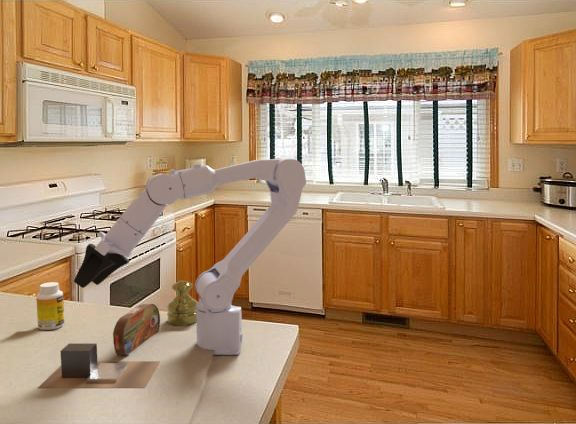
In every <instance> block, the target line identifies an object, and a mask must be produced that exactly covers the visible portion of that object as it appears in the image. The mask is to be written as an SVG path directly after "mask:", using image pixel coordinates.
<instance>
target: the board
mask: <svg viewBox="0 0 576 424" xmlns="http://www.w3.org/2000/svg"><path fill="white" fill-rule="evenodd" d="M97 362H98V366H99V364H100V363H128V367H127V368H126V369H125V371H124V372H123V374H122V375H121V376H120V378H119V379H118V380H117V382H87V378H62V370H61V365H60V366H59V367H57V369H56V370H55V371H54V372H52V373H51V374H50V375H49V376H48V377H47V378H46V379H45V380H44V381H43V382H42V383H41V384H40V385H39V386H38V387H37V389H145V388H146V387H147V385H148V383H149V381H151V379H152V376H153V375H154V374H155V372H156V369H157V368H158V366H159V365H160V363H161V361H158V360H157V361H156V360H154V361H153V360H151V361H150V360H149V361H148V360H146V361H145V360H144V361H143V360H142V361H139V360H138V361H135V360H134V361H133V360H131V361H129V360H127V361H126V360H125V361H124V360H123V361H120V360H117V361H116V360H115V361H114V360H112V361H111V360H110V361H107V360H105V361H103V360H99V361H98V360H97Z"/></svg>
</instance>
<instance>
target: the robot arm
mask: <svg viewBox="0 0 576 424" xmlns="http://www.w3.org/2000/svg"><path fill="white" fill-rule="evenodd" d="M192 166H193V167H189V168H185V169H180V170H179V169H178V170H176V169H174V168H172V169H169V174H167V173H158V174H155V175H153V176H152V177H150V178H148V179H147V181H146V183H145V188H144V189H143V190H142V191H141V192H139V194H138V196H137V197H135V198H134V199H133V200H132V202H131V203H130V204H128V205H129V206H127V208H125V210H124V212H122V214H121V215H120V216H119V218H118V219H117V220H116V221H115V222H114V224H113V225H112V226H111V227H110V228H109V230H108V231H107V233H105V232H103V231H99V232H98V234H97V235H98V237H100V238H101V239H100V241H99V243H98V244H97V245H96V246H95V244H93V243H88V244H87V246H86V248H85V254H84V258H83V261H82V263H81V266H80V267H79V269H78V270H77V273H76V275H75V277H74V280H73V283H75V284H76V285H78V286H79V287H80V288H81V289H84V288H86V287H88V286H89V285H90V284H91V282H92V283H93V284H95V285H97V286H99V285H100V284H101V283H102V282H104V281H106V279H107V278H108V277H110V276H111V275H112V274H113V273H115V272H116V271H117V270H119V269H120V268H122V267H123V266H125V265H127V264H130V262H131V261H130V260H129V259H128V258H129V257H130V256H131V254H132V252H133V251H134V249H135V248H136V247H137V245H138V244H139V243H140V242H141V240H142V239H143V238H144V237H145V235H146V234H147V233H148V231H149V230H150V229H151V228H152V227H153V225H154V224H155V223H156V222H157V220H158V219H159V218H160V216H161V214H162V213H163V211H164V210H165V209H166V208H167V206H169V205H170V206H171V205H172V204H174V203H176V201H177V200H178V199H180V200H185V199H191V198H194V197H199V196H203V195H209V194H213V192H214V191H215V190H216V188H217V187H218V186H219V185H225V184H230V183H235V182H240V181H245V180H250V179H257V180H260V181H265V183H266V185H267V187H268V189H269V193H270V200H271V204H270V205H269V207H268V208H267V209H266V210H265V211H264V212H263V213H262V215H261V216H260V217H259V218H258V219H257V221H256V222H254V224H253V225H252V226H251V227H250V229H249V230H248V231H247V232H246V233H245V234H244V236H243V237H242V238H241V239H240V240H239V241H238V243H236V245H234V247H233V248H232V249H231V250H230V251H229V252H228V253H227V255H226V256H225V257H224V258H223V259H221V260H220V261H218V262H216V263H215V264H214V265H213V266H212V267H210V268H209V269H208V270H206V271H203V272H201V273H200V274H199V275H198V277H197V278H196V280H195V285H194V287H195V291H196V293H197V295H198V296H199V300H198V301H197V302H198V303H197V305H196V315H197V321H196V345H197V346H198V347H199V348H200V349H204V350H209V351H210V350H212V351H213V353H212V355H213V356H214V355H215V356H222V355H223V356H232V355H234V356H236V355H237V356H238V355H239V354H240V350H241V346H242V342H243V330H242V327H243V325H242V321H243V319H242V317H243V316H242V313H243V312H242V307H241V306H235V305H232V302H233V299H234V294H235V293H236V291H237V290H238V288H240V286H241V282H242V277H243V275H244V274H245V273H246V272H247V271H248V270H249V268H251V266H252V265H253V264H254V262H255V261H256V260H257V259H258V258H259V257H260V256H261V254H262V253H263V252H264V251H265V250H266V249H267V248H268V246H269V245H270V244H271V243H272V242H273V240H274V239H276V237H277V236H278V234H280V232H281V231H282V230H283V229H284V228H285V227H286V226H287V224H288V223H289V222H290V221H291V220H292V218H293V217H294V216H295V215H296V214H297V212H298V208H299V204H300V201H301V198H302V197H301V196H302V193H303V189H305V186H306V184H307V178H306V173H305V172H306V171H305V168H304V166H303V164H302V162H300V161H299V160H298V159H295V158H272V159H270V158H269V159H253V160H250V161H246V162H241V163H237V164H233V165H229V166H225V167H220V168H216V169H213V168H211V167H210V166H209V165H206V164H204V165H202V164H201V163H199V162H198V163H194V164H193V165H192Z"/></svg>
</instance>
